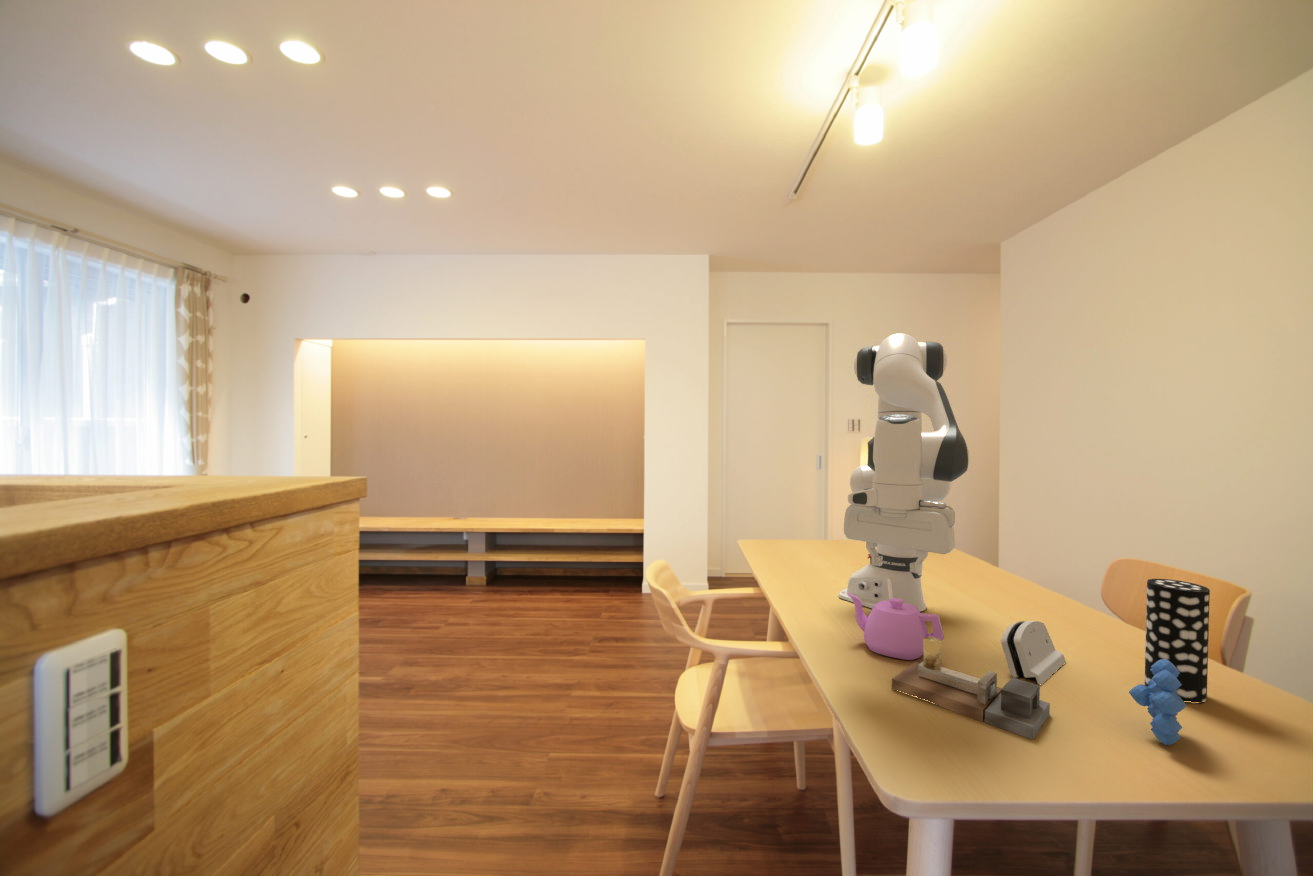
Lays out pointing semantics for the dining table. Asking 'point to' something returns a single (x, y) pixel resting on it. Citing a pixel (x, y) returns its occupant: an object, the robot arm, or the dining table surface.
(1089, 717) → the dining table surface
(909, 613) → the teapot
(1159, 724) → the grapes
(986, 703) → the door board
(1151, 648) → the white-spotted black cylinder
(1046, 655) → the light grey rounded piece
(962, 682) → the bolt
